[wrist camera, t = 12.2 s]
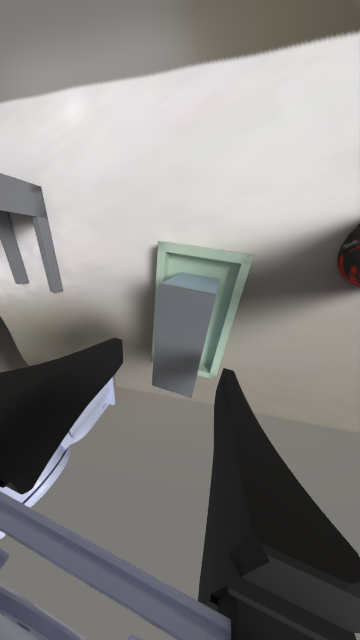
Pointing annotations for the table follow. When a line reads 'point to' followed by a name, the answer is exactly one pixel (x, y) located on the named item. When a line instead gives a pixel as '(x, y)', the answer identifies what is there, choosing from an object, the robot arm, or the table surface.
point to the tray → (230, 288)
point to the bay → (28, 200)
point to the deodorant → (350, 258)
